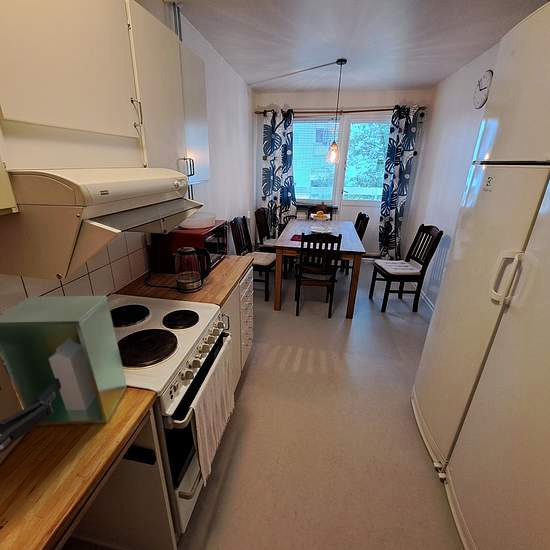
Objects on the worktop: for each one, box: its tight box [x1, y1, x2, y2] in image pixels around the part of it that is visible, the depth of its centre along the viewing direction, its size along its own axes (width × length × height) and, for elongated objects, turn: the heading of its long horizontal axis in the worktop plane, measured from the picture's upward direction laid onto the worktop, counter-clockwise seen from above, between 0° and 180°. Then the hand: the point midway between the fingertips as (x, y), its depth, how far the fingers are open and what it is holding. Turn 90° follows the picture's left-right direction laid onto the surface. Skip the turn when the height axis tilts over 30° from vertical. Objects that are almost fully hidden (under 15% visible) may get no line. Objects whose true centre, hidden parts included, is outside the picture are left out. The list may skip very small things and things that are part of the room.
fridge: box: [0, 295, 128, 427], centre depth 82 cm, size 14×21×34 cm, turn 94°
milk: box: [49, 337, 96, 410], centre depth 83 cm, size 6×6×22 cm
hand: (28, 383), depth 67 cm, fingers open, 13 cm apart
